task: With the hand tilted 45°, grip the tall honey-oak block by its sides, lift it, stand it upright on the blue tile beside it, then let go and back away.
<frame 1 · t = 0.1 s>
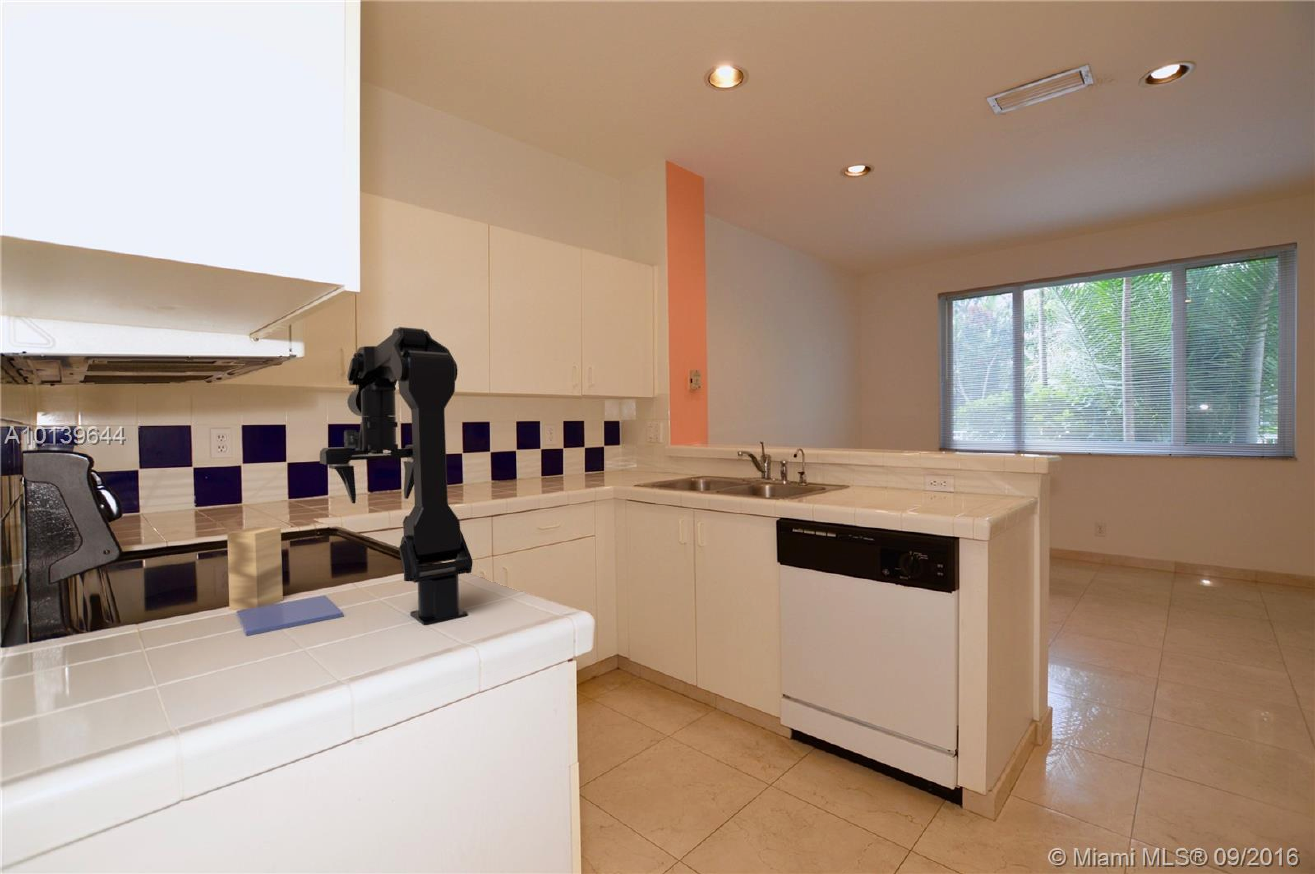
hand: (380, 500, 111), 14 cm above the counter, tool pointing down, fingers open, 9 cm apart
oak block: (256, 604, 96), on the counter
blue tile: (289, 615, 90), on the counter
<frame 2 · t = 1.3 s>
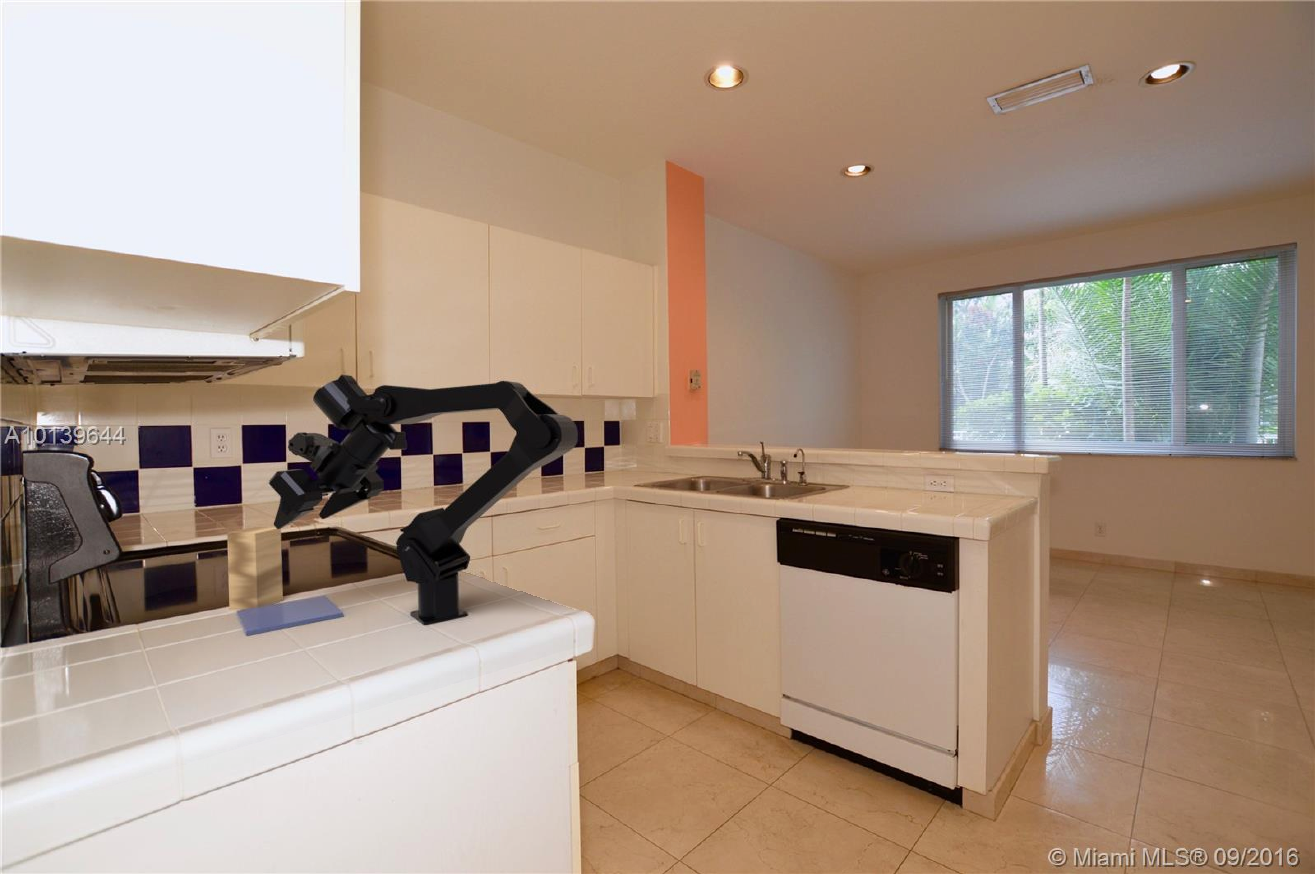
hand: (299, 521, 94), 13 cm above the counter, tool tilted 45°, fingers open, 9 cm apart
nothing on the counter moved.
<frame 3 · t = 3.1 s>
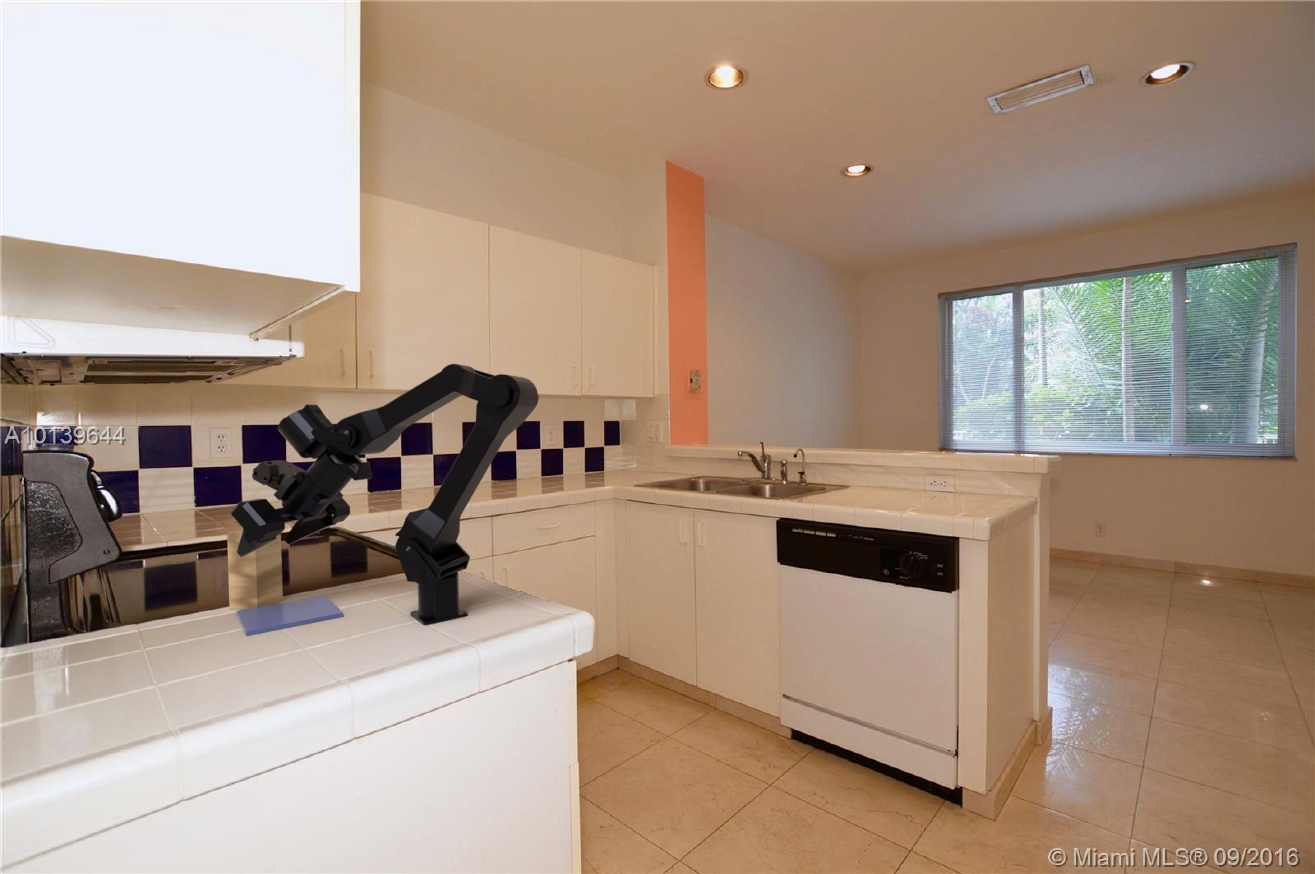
hand: (264, 548, 95), 9 cm above the counter, tool tilted 45°, fingers open, 9 cm apart
nothing on the counter moved.
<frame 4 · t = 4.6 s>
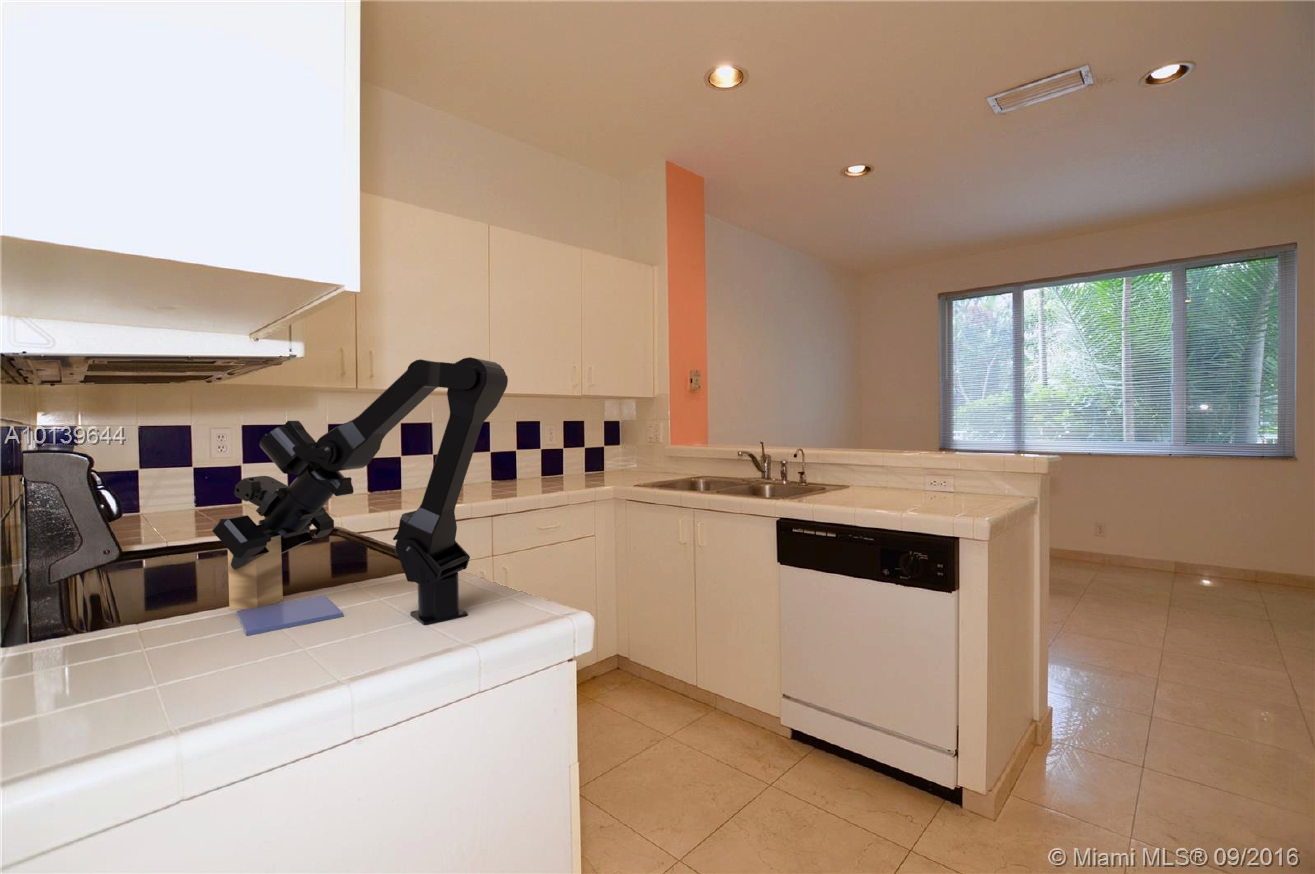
hand: (247, 563, 96), 7 cm above the counter, tool tilted 45°, fingers closed on oak block, 5 cm apart
oak block: (256, 604, 96), on the counter, touching gripper
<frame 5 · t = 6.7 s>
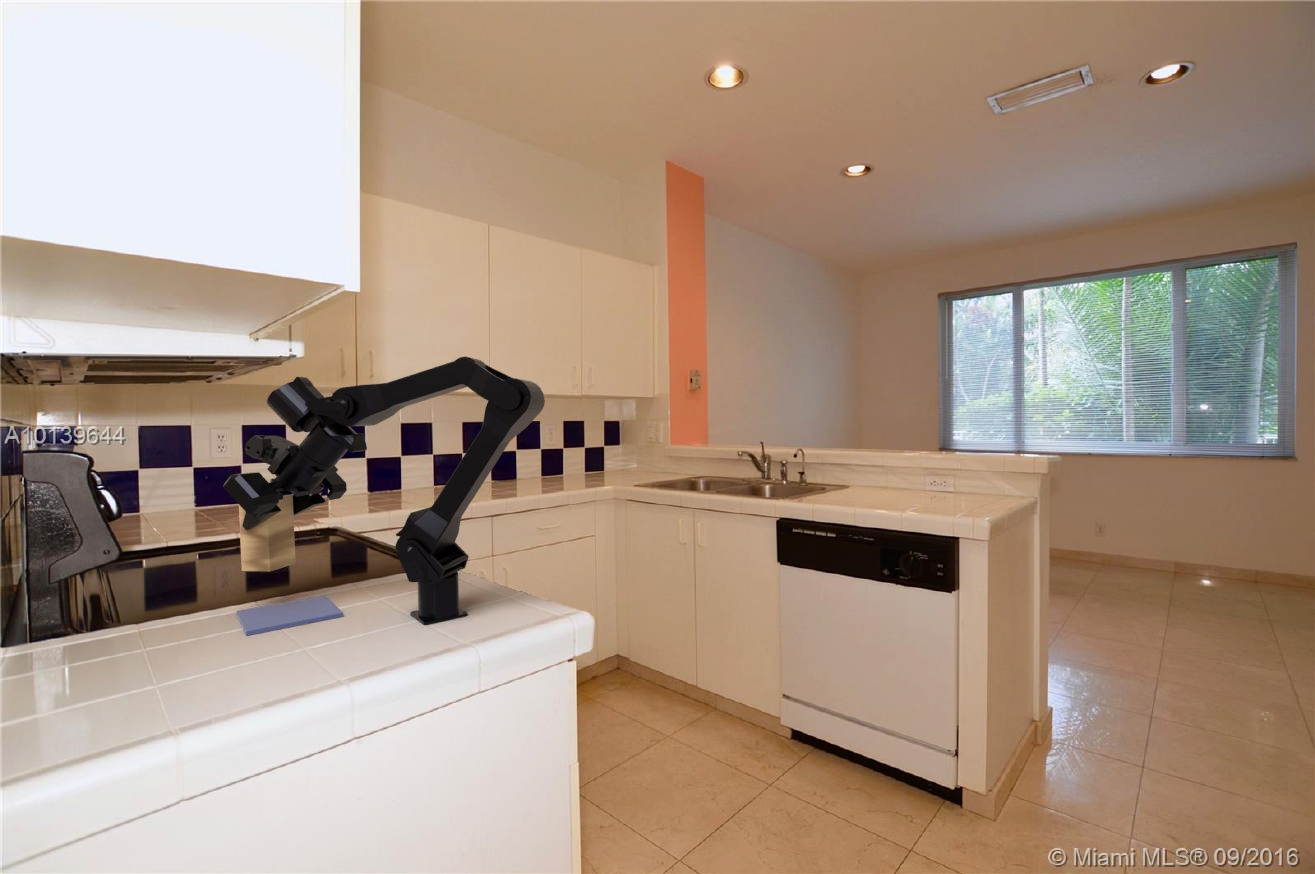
hand: (259, 525, 94), 13 cm above the counter, tool tilted 45°, fingers closed on oak block, 5 cm apart
oak block: (269, 567, 94), point 6 cm above the counter, touching gripper
when the fingers open (8 cm above the counter, at t = 8.8 s): oak block drops 1 cm, resting on blue tile.
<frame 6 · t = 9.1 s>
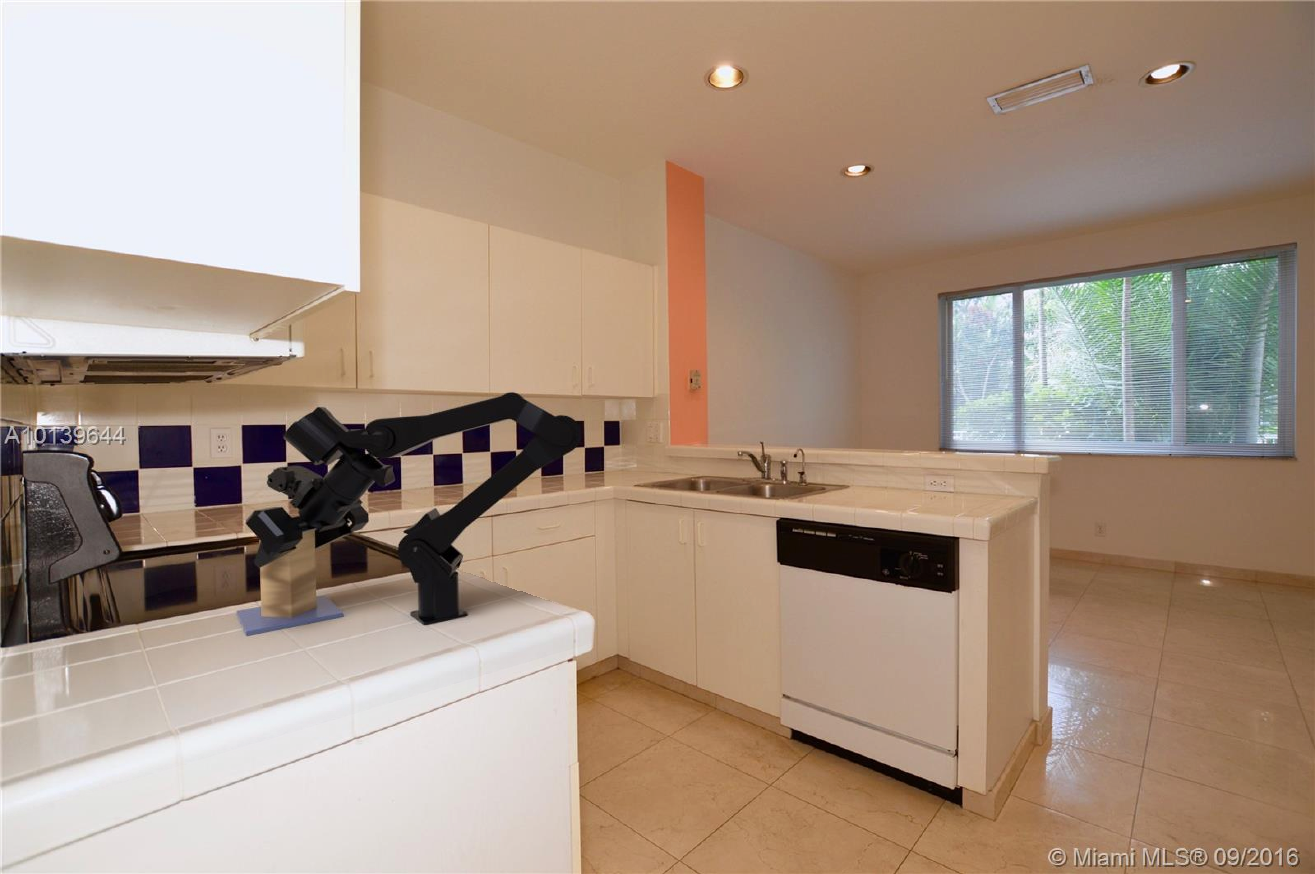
hand: (279, 558, 90), 9 cm above the counter, tool tilted 45°, fingers open, 8 cm apart
oak block: (289, 611, 90), point 1 cm above the counter, touching blue tile
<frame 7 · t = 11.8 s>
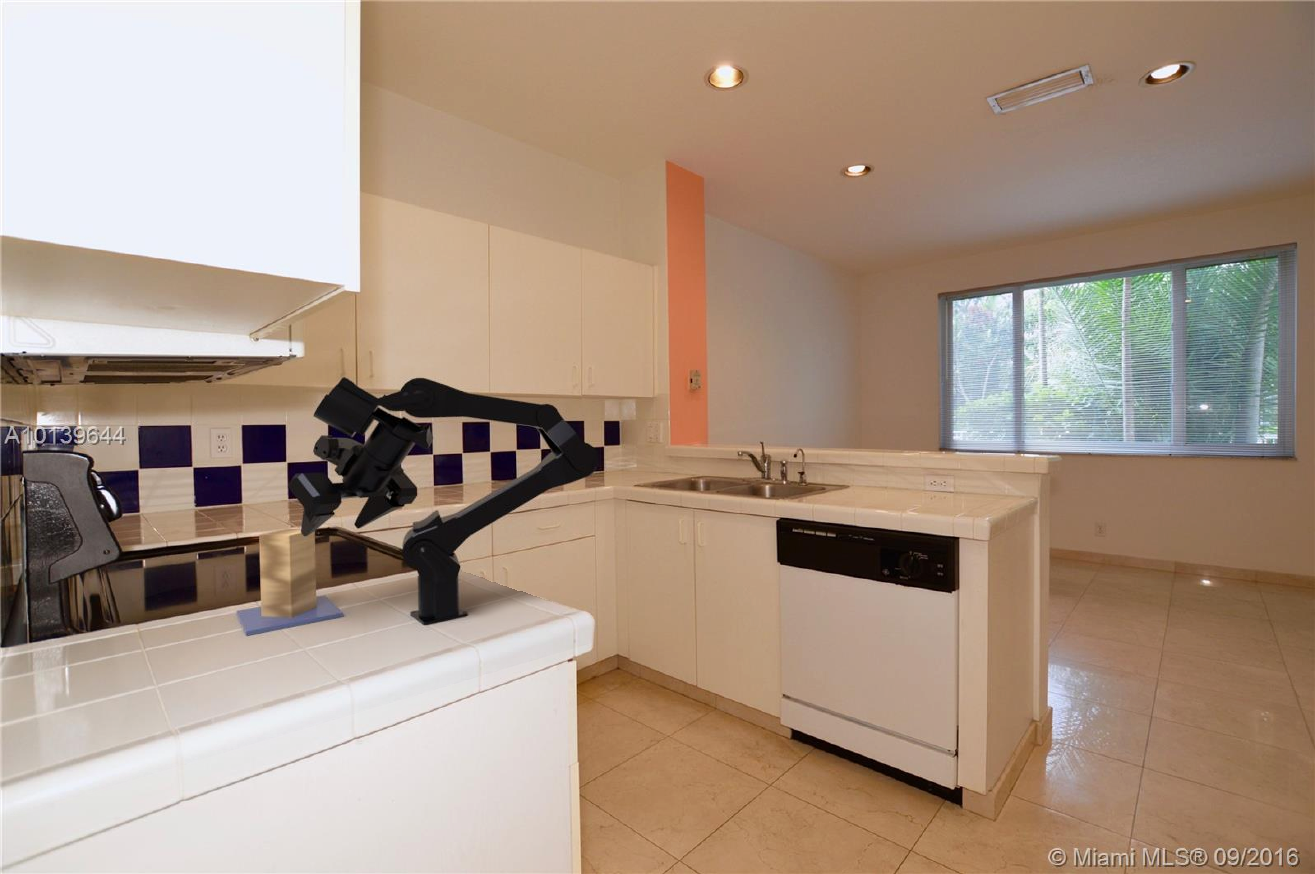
hand: (331, 530, 91), 13 cm above the counter, tool tilted 40°, fingers open, 9 cm apart
nothing on the counter moved.
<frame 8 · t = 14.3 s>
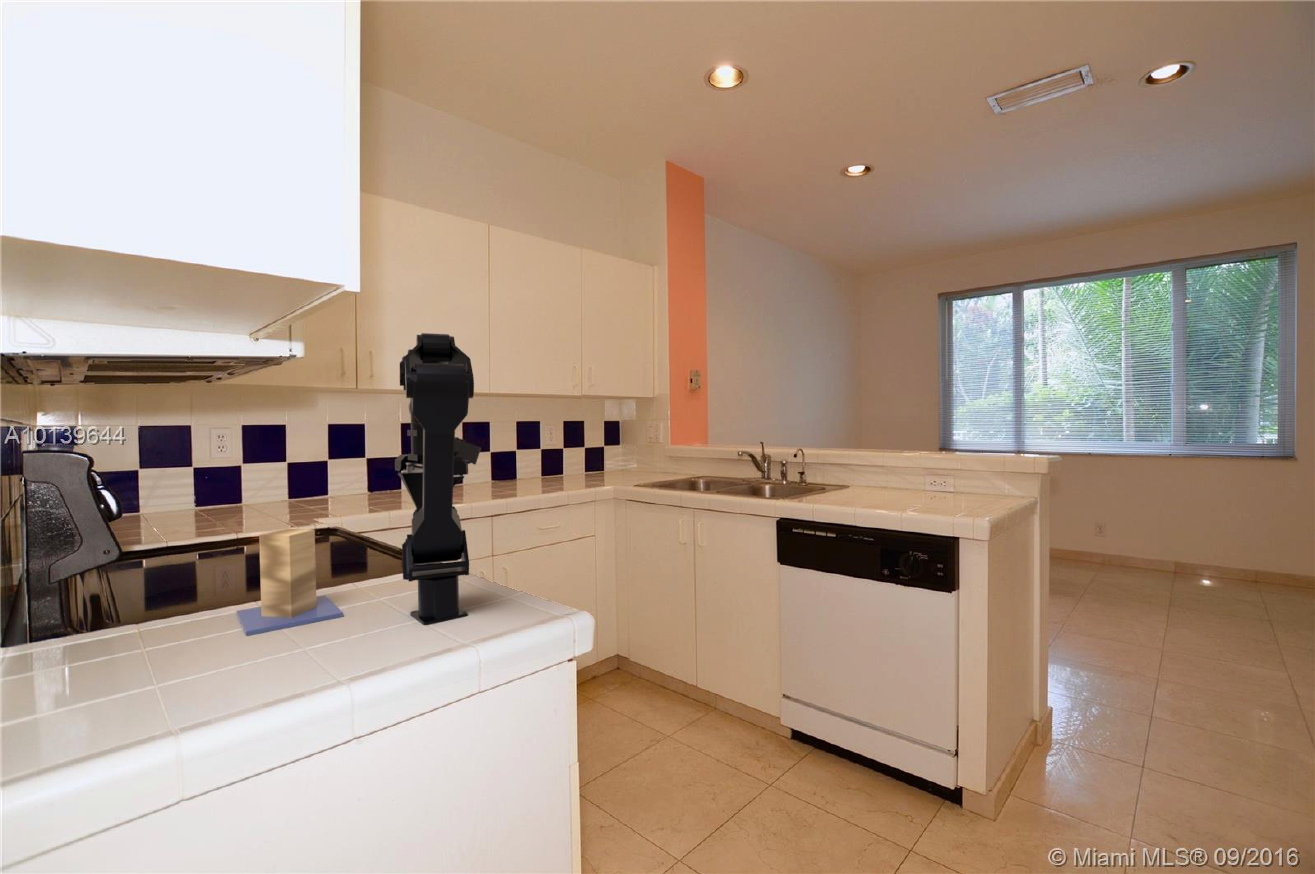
hand: (430, 514, 102), 13 cm above the counter, tool pointing down, fingers open, 9 cm apart
nothing on the counter moved.
at the end: oak block inside the target area on the blue tile (0.0 cm from its centre), point 0.6 cm above the blue tile's base; oak block tilted 0°; the gripper is holding nothing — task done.
